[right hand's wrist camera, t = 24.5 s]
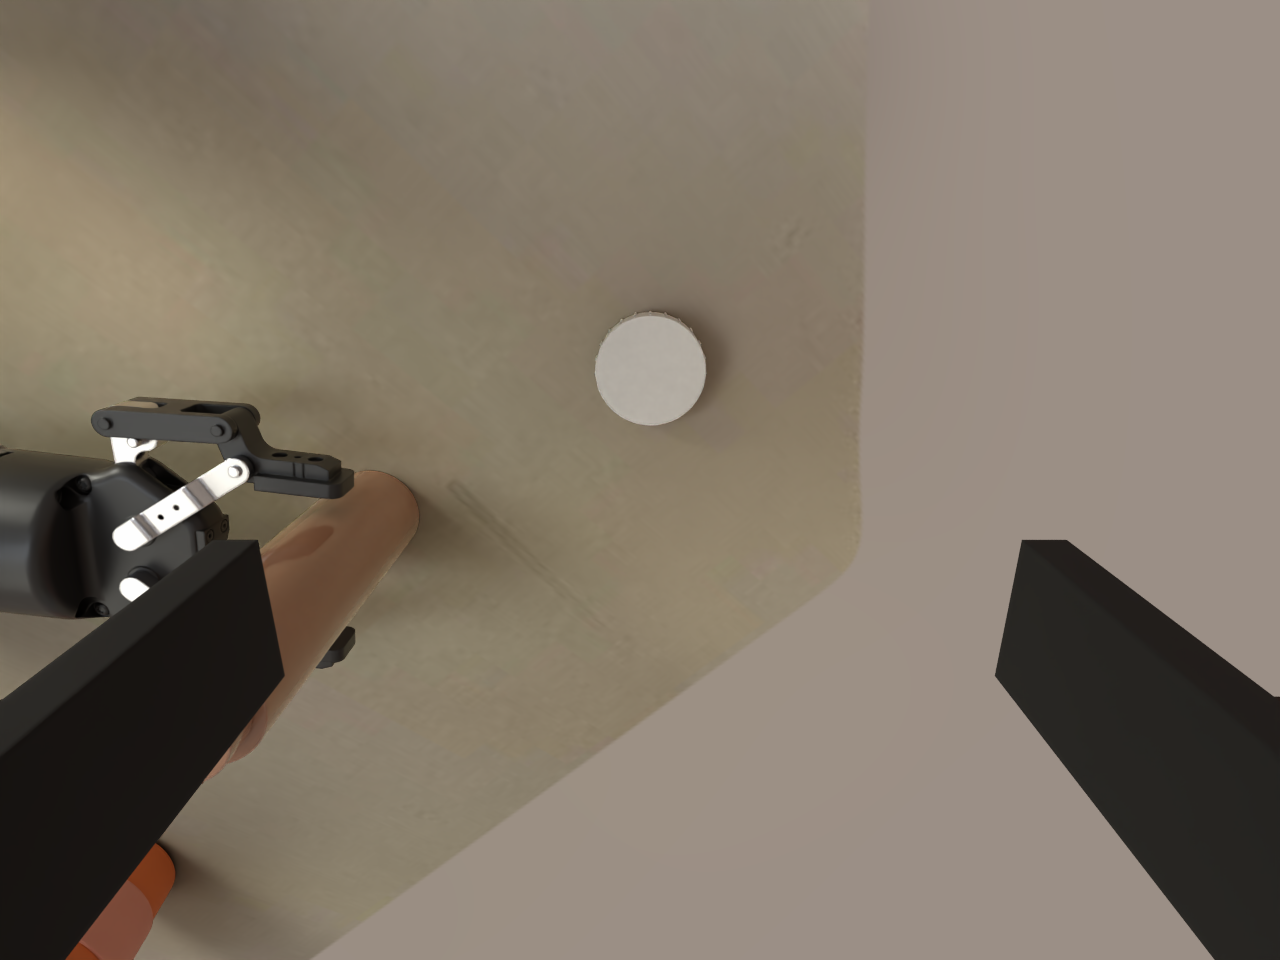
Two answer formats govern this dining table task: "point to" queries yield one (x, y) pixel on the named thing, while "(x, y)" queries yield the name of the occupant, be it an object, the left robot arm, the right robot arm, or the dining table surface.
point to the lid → (650, 368)
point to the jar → (326, 581)
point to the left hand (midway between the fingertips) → (349, 567)
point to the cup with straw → (129, 912)
